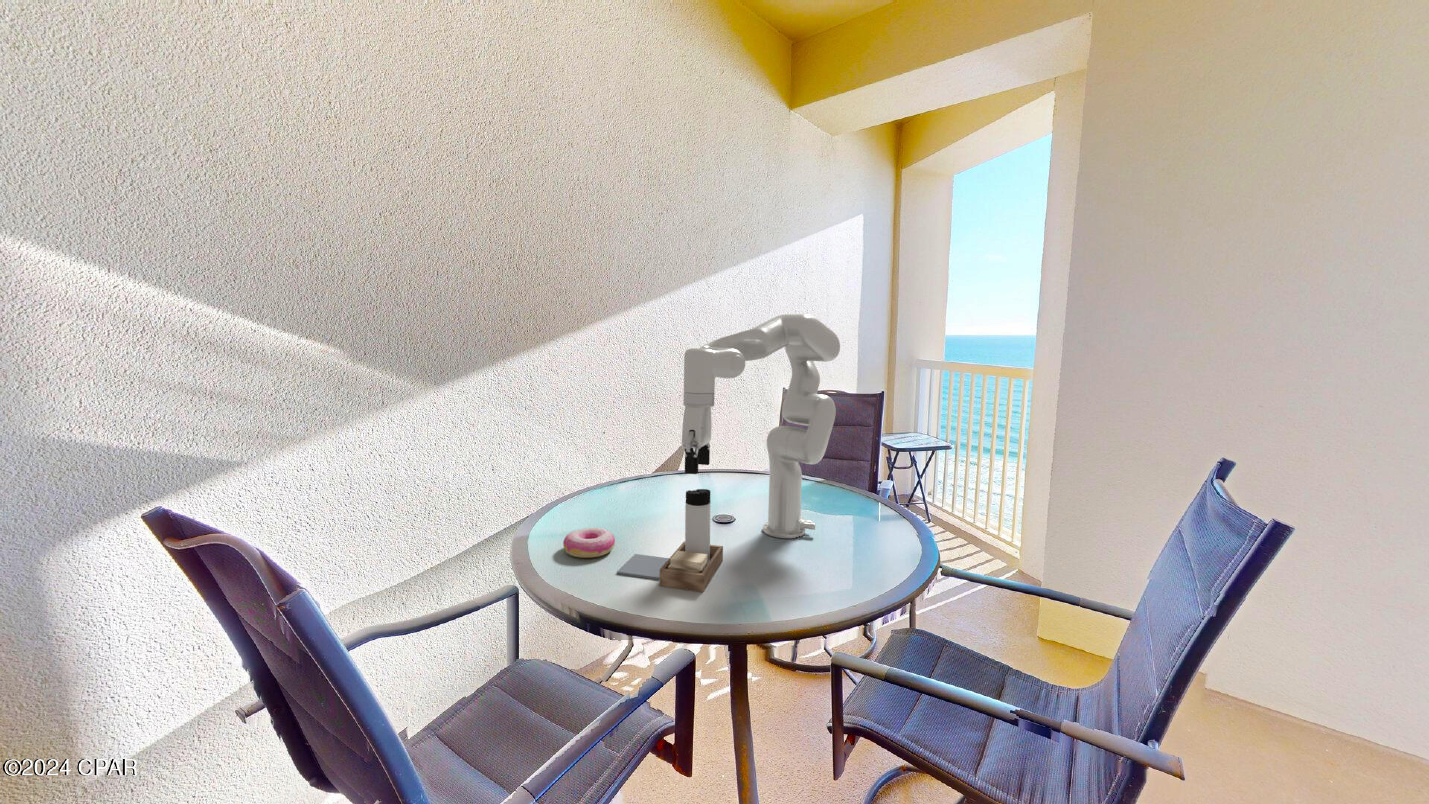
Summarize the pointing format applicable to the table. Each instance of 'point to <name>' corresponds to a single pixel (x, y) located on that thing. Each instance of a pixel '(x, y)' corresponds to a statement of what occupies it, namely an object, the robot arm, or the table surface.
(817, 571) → the table surface
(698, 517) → the travel mug
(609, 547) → the donut
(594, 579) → the table surface
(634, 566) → the slate mat
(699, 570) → the maple offcut stack
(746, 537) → the table surface
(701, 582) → the wooden tray
